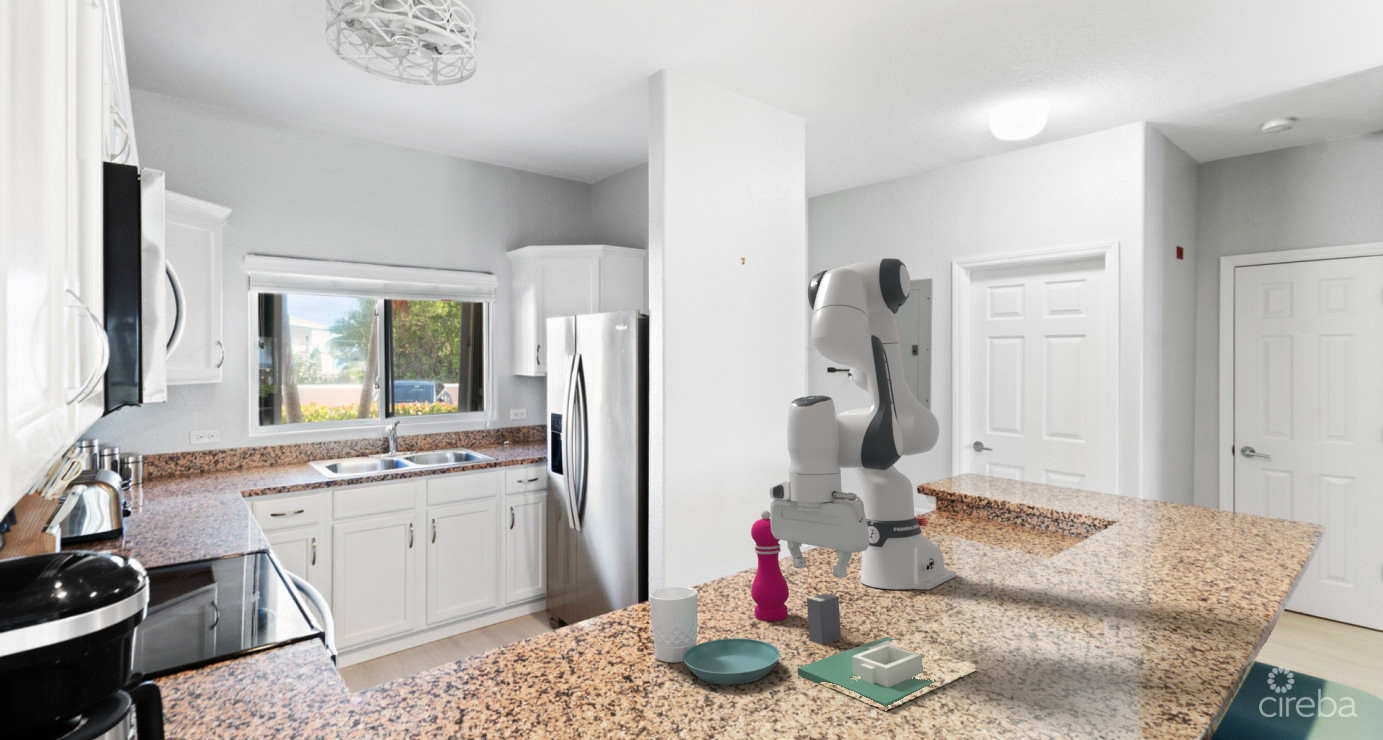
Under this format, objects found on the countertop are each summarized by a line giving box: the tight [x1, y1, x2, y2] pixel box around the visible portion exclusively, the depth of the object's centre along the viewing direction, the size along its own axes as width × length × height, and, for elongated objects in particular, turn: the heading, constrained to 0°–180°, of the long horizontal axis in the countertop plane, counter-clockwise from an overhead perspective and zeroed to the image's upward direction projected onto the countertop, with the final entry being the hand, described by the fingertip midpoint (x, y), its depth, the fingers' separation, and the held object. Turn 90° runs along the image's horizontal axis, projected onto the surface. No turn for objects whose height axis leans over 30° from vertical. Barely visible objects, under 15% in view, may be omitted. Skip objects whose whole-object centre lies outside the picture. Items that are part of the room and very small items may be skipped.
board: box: [796, 636, 936, 707], centre depth 95 cm, size 20×16×4 cm
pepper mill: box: [750, 510, 790, 622], centre depth 126 cm, size 7×7×20 cm
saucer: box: [683, 637, 781, 686], centre depth 99 cm, size 15×15×3 cm
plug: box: [806, 592, 842, 646], centre depth 111 cm, size 4×3×7 cm, turn 125°
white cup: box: [649, 586, 699, 664], centre depth 107 cm, size 8×8×10 cm
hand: (819, 572), depth 111 cm, fingers open, 8 cm apart
